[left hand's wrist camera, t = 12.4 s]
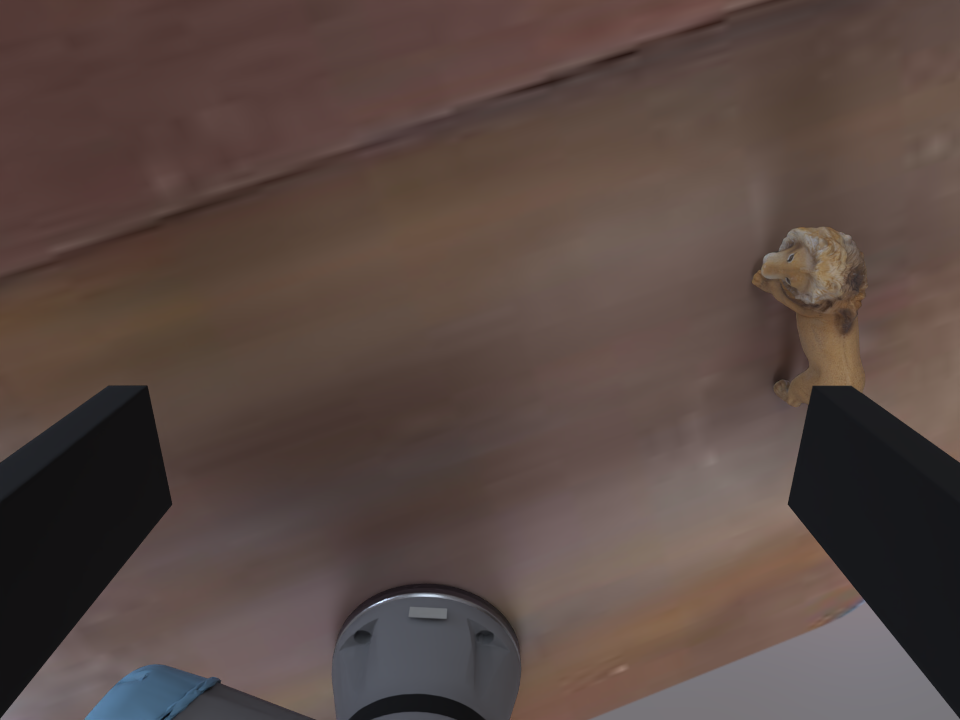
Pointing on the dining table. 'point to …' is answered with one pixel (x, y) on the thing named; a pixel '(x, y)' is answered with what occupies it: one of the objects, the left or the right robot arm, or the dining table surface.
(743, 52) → the dining table surface
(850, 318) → the lion figurine
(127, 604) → the dining table surface
